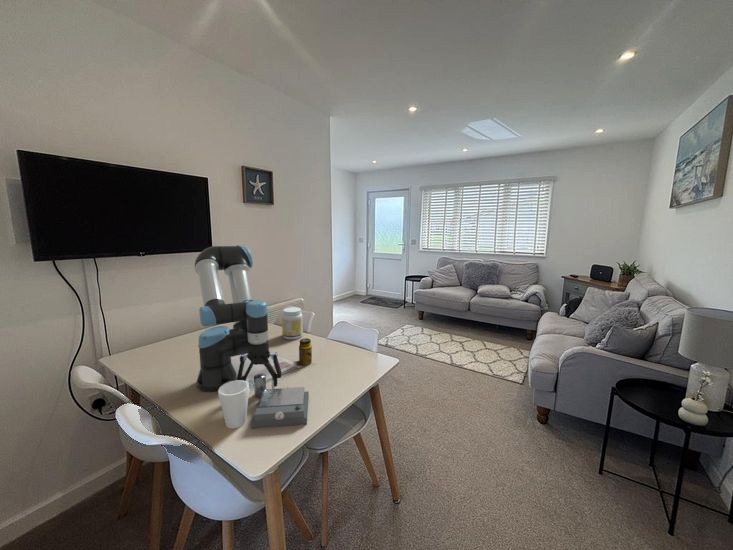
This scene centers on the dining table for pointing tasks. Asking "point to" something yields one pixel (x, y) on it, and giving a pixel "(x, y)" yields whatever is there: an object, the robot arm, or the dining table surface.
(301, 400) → the scale weighing pan
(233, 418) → the foam cup
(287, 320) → the supplement tub
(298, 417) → the scale base
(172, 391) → the dining table surface
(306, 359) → the condiment
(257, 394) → the cylinder
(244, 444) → the dining table surface
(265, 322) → the robot arm
